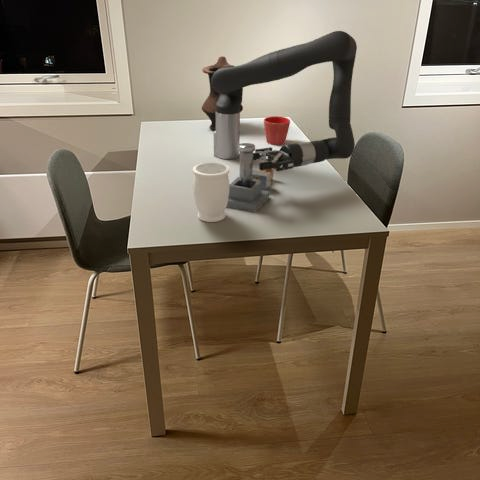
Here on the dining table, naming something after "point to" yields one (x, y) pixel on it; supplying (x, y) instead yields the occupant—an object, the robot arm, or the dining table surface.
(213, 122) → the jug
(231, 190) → the socket
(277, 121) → the flower pot
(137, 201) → the dining table surface
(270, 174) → the lock pin
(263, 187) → the block
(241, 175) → the cylinder
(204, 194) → the jar
